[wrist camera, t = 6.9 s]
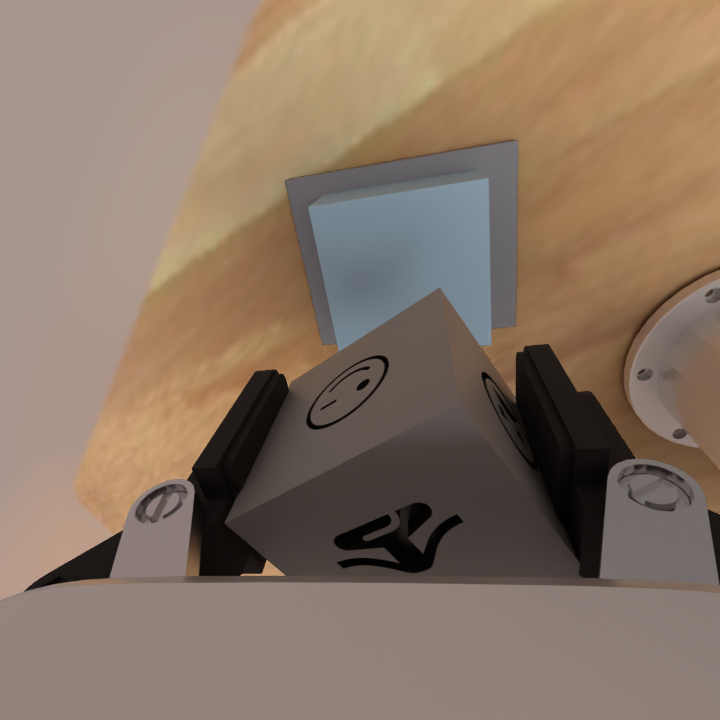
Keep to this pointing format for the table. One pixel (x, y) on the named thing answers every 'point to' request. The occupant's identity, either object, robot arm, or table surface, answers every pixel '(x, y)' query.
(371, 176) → the base
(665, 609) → the robot arm
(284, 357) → the table surface
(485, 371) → the dice cube
